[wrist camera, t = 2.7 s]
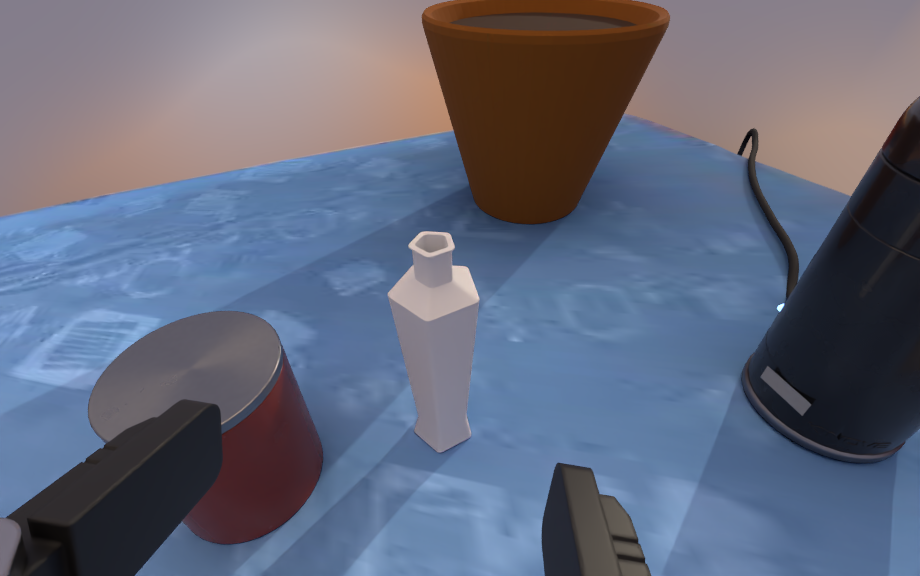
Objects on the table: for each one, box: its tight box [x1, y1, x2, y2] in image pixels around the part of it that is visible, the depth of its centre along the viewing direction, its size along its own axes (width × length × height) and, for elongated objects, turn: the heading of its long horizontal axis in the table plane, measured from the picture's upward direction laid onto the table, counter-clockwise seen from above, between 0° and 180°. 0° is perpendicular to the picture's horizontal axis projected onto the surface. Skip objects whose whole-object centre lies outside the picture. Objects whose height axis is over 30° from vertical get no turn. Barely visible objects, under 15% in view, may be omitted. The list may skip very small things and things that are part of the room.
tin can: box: [88, 311, 323, 544], centre depth 24 cm, size 8×8×10 cm
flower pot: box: [422, 0, 670, 224], centre depth 49 cm, size 24×24×20 cm
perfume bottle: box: [388, 231, 479, 453], centre depth 25 cm, size 5×4×15 cm
